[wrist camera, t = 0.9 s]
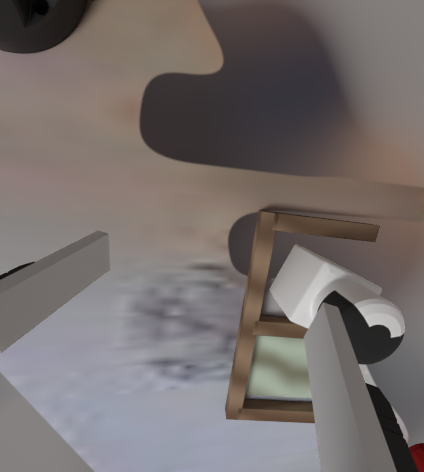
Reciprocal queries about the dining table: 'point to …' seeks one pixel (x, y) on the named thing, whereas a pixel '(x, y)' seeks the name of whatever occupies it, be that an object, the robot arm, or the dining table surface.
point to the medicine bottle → (339, 302)
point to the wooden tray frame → (276, 329)
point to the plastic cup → (418, 455)
